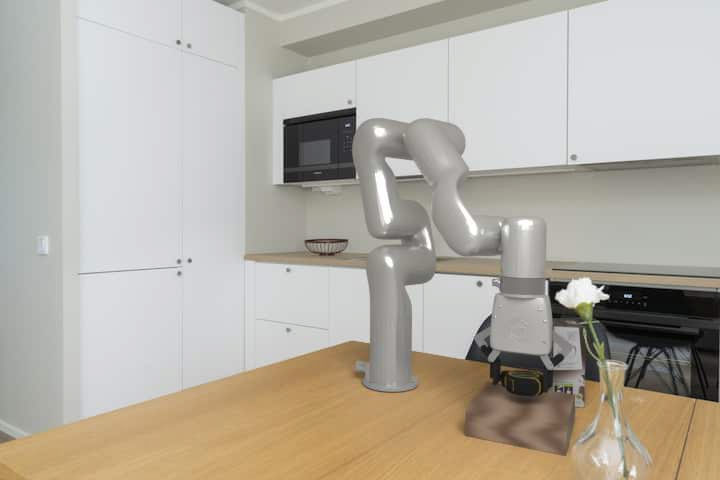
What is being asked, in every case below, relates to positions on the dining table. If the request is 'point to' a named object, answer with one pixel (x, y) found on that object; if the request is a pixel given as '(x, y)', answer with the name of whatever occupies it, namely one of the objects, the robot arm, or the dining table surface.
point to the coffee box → (570, 360)
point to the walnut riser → (522, 418)
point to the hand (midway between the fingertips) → (520, 386)
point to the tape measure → (522, 382)
